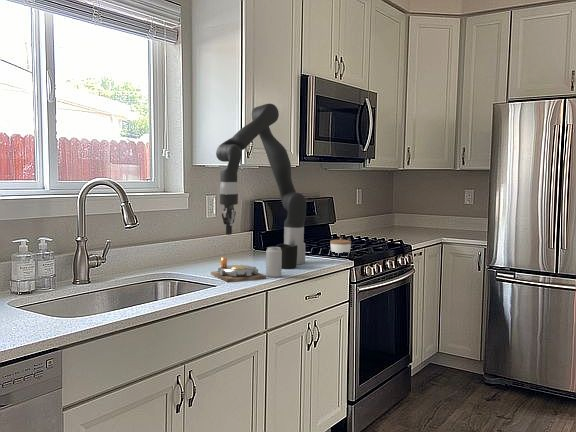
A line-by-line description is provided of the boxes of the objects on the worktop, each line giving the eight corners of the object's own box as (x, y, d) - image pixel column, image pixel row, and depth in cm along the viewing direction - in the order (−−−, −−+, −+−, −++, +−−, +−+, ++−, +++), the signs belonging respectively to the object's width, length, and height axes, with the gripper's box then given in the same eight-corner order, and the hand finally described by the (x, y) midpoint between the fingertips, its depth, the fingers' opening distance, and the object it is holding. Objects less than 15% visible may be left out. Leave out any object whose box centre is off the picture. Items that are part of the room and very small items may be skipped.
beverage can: (268, 278, 223) (268, 248, 222) (264, 275, 229) (264, 246, 228) (283, 277, 225) (283, 248, 224) (279, 274, 231) (279, 246, 230)
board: (248, 271, 237) (248, 268, 237) (266, 278, 222) (266, 275, 222) (210, 274, 229) (210, 271, 228) (226, 282, 214) (226, 279, 214)
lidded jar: (326, 254, 286) (326, 237, 285) (343, 253, 291) (343, 236, 290) (337, 258, 277) (337, 239, 276) (354, 256, 282) (355, 238, 281)
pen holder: (293, 265, 254) (293, 243, 253) (300, 268, 245) (300, 246, 244) (273, 266, 251) (274, 244, 250) (279, 269, 242) (280, 247, 241)
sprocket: (223, 268, 234) (223, 254, 234) (261, 270, 232) (261, 256, 232) (213, 275, 218) (213, 260, 218) (253, 277, 216) (253, 262, 216)
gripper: (224, 192, 236) (225, 232, 238) (215, 193, 223) (215, 236, 225) (241, 192, 235) (241, 232, 236) (233, 193, 222) (233, 236, 223)
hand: (229, 234), depth 230 cm, fingers closed
